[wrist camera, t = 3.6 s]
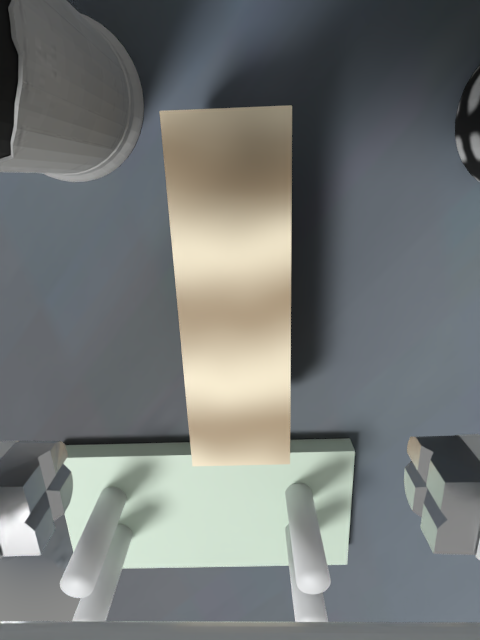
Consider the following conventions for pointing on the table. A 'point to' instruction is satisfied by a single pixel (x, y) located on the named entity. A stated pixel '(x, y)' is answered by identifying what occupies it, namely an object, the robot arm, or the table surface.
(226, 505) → the peg stand
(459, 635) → the robot arm
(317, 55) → the table surface
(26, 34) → the electric kettle
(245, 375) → the plank
